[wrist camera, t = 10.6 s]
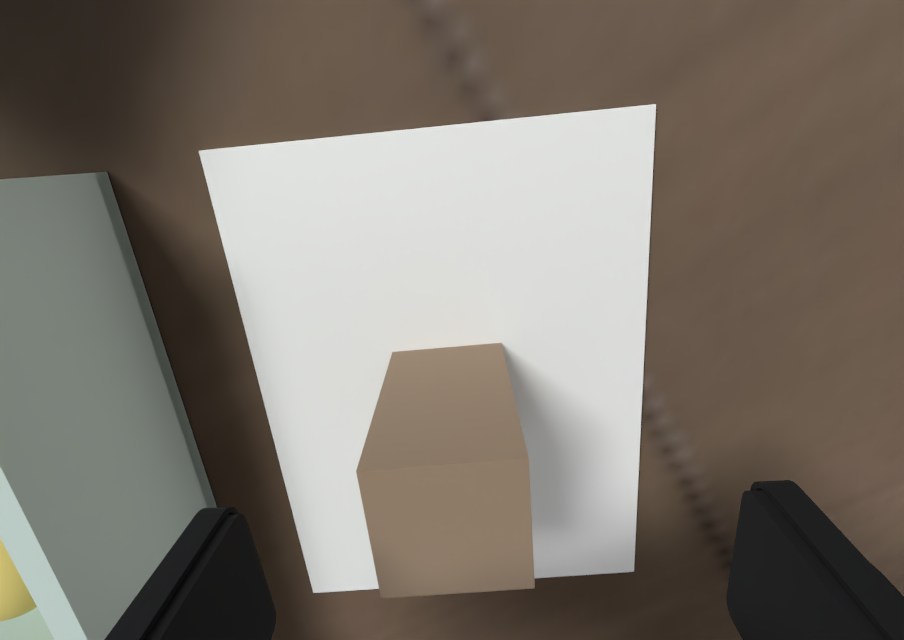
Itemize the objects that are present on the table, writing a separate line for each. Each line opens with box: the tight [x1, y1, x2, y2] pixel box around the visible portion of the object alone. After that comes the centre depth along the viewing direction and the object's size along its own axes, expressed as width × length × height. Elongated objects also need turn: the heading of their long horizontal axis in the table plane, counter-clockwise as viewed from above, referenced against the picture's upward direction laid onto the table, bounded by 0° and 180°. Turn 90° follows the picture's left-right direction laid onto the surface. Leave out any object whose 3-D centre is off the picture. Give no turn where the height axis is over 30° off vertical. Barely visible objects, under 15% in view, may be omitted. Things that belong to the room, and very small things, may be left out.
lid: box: [199, 104, 656, 598], centre depth 13 cm, size 17×13×7 cm
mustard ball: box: [0, 539, 37, 622], centre depth 16 cm, size 3×3×3 cm
